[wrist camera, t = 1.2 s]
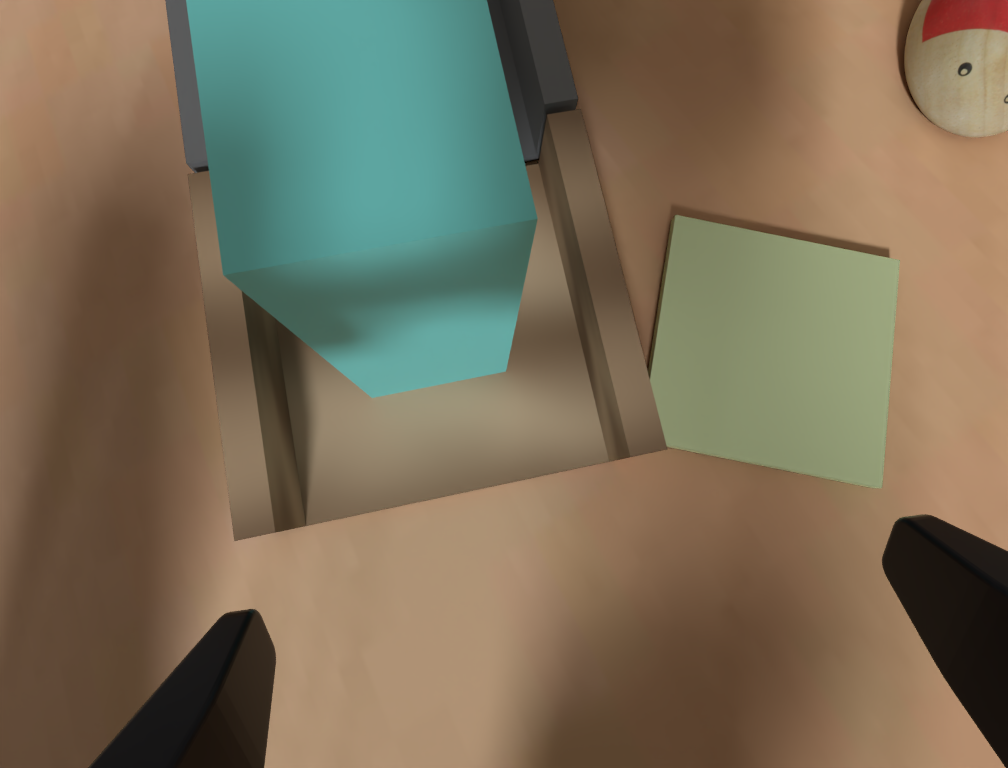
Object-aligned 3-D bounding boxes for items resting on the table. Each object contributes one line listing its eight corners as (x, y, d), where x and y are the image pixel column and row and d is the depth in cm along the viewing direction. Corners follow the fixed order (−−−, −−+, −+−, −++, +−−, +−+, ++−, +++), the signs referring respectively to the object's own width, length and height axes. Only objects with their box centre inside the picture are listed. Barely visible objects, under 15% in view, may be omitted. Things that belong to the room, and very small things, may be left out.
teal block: (505, 371, 22) (537, 218, 9) (371, 397, 21) (222, 275, 9) (479, 246, 23) (476, -44, 10) (349, 270, 22) (185, -2, 10)
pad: (873, 488, 22) (882, 488, 21) (637, 440, 22) (640, 439, 21) (890, 264, 23) (899, 260, 23) (671, 220, 23) (675, 214, 23)
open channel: (637, 455, 22) (667, 449, 18) (275, 532, 21) (234, 541, 17) (566, 164, 24) (580, 108, 20) (232, 221, 23) (187, 174, 19)
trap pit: (563, 154, 24) (578, 98, 20) (230, 212, 23) (186, 163, 19) (508, -71, 26) (512, -159, 22) (197, -28, 25) (151, -111, 21)
